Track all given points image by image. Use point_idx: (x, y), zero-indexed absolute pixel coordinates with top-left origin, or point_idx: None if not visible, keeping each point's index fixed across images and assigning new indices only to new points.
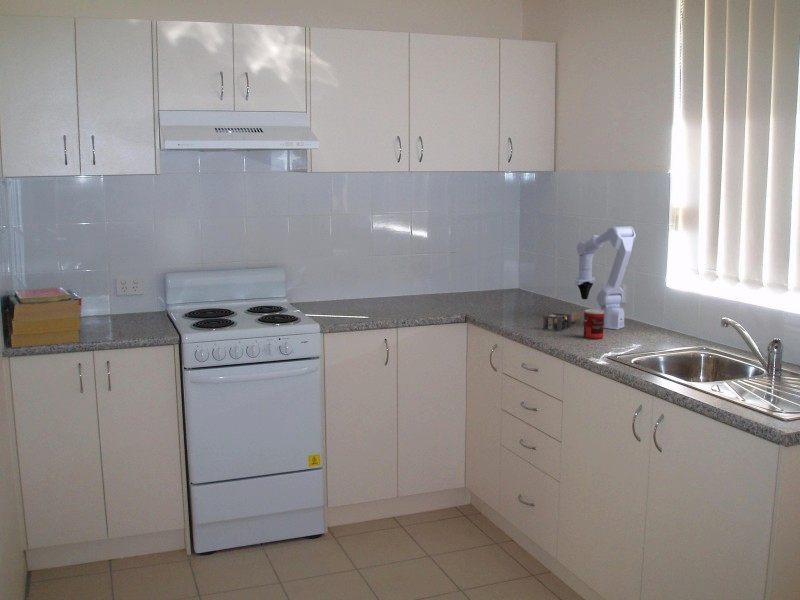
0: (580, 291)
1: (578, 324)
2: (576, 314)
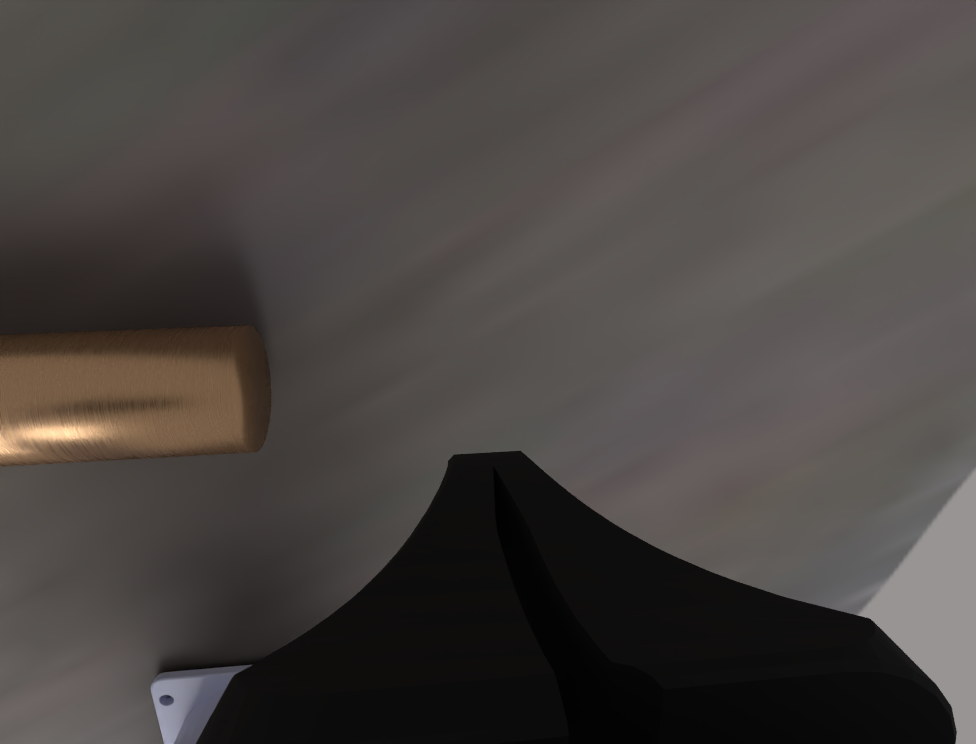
0: (401, 556)
1: None
2: (115, 453)
